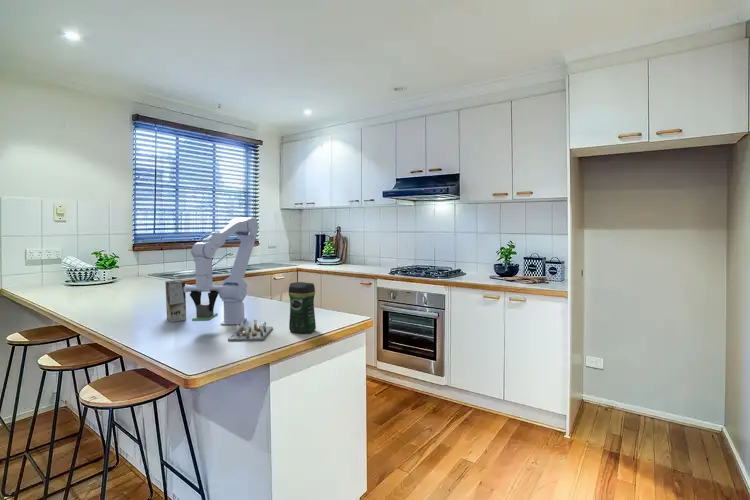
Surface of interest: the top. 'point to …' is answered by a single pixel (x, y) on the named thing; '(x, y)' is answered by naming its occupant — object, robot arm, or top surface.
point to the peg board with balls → (250, 332)
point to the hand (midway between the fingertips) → (205, 310)
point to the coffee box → (175, 300)
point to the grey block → (204, 312)
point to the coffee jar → (302, 307)
